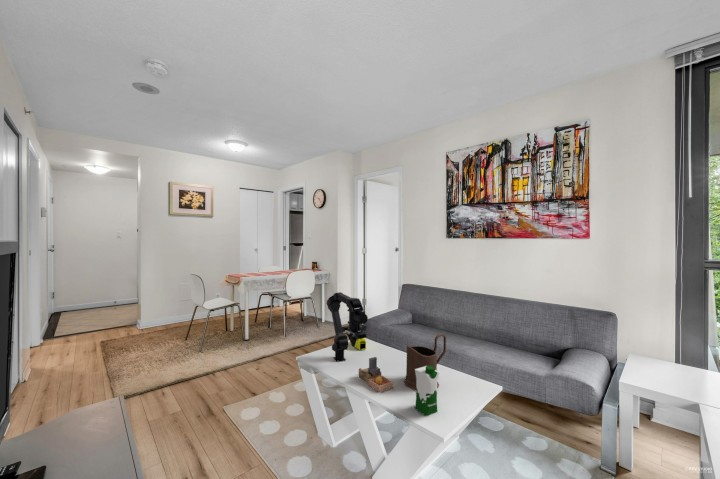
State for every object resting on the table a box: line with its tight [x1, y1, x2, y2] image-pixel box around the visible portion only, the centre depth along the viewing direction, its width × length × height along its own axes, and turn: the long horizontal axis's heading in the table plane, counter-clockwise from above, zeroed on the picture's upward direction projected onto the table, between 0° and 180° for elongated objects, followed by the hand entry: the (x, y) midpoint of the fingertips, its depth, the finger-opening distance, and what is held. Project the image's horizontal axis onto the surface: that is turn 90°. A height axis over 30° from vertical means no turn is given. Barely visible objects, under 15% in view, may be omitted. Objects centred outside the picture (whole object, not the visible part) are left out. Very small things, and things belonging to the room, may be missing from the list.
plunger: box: [367, 356, 381, 377], centre depth 168 cm, size 4×5×8 cm
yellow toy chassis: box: [349, 338, 367, 351], centre depth 223 cm, size 16×6×8 cm, turn 27°
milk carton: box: [414, 366, 440, 417], centre depth 142 cm, size 9×9×20 cm
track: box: [358, 367, 382, 385], centre depth 171 cm, size 10×8×5 cm
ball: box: [375, 377, 383, 385], centre depth 165 cm, size 4×4×4 cm
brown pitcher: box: [403, 333, 447, 391], centre depth 169 cm, size 18×24×25 cm
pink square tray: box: [367, 375, 394, 393], centre depth 163 cm, size 9×9×3 cm
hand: (353, 346), depth 186 cm, fingers closed
